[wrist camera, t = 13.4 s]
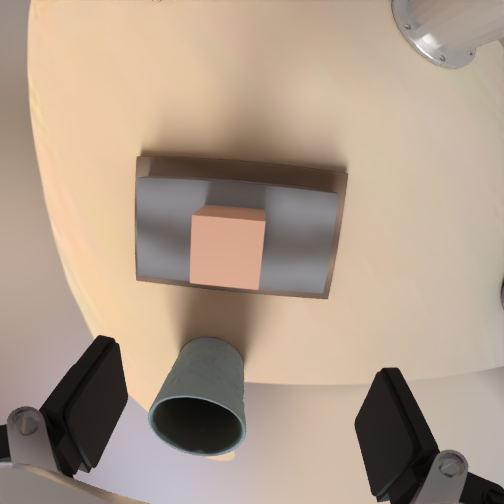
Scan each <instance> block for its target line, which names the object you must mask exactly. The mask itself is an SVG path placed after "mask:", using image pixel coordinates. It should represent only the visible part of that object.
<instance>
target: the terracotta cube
mask: <svg viewBox="0 0 504 504" xmlns="http://www.w3.org/2000/svg"><path fill="white" fill-rule="evenodd" d="M265 222H266V221H265V210H263V209H253V208H242V207H230V206H218V205H204V206H202V207H201V208H200V209H199V210H198V211H196V212H195V213H194V214H193V215H192V226H191V253H190V283H194V284H203V285H213V286H222V287H232V288H243V289H253V290H258V289H259V280H260V270H261V261H262V251H263V242H264V232H265Z"/></svg>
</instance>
